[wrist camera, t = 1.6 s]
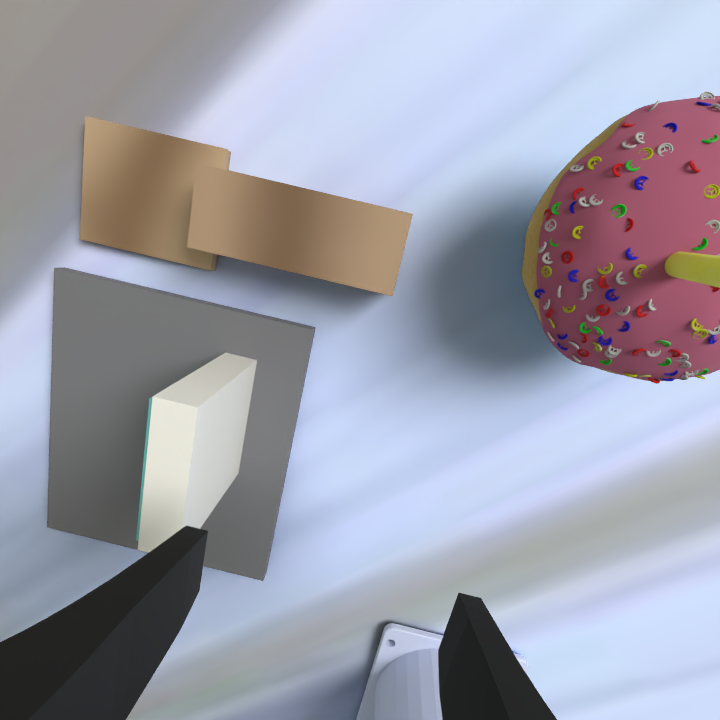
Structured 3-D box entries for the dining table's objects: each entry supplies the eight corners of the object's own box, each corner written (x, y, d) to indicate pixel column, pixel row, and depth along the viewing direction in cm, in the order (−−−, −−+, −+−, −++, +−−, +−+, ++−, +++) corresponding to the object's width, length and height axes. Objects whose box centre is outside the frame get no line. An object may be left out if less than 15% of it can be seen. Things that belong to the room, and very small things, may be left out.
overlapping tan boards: (415, 195, 17) (420, 184, 15) (387, 310, 19) (386, 321, 16) (95, 120, 18) (37, 94, 15) (89, 239, 19) (34, 237, 16)
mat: (266, 572, 23) (262, 580, 22) (56, 520, 23) (47, 527, 22) (315, 327, 19) (312, 329, 18) (64, 267, 19) (54, 268, 19)
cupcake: (524, 375, 19) (733, 571, 7) (467, 190, 17) (624, 60, 6) (725, 309, 18) (1375, 421, 6) (686, 100, 16) (1508, -323, 4)
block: (238, 473, 21) (177, 560, 15) (205, 465, 21) (132, 548, 15) (257, 360, 19) (197, 407, 13) (221, 351, 19) (146, 394, 13)
